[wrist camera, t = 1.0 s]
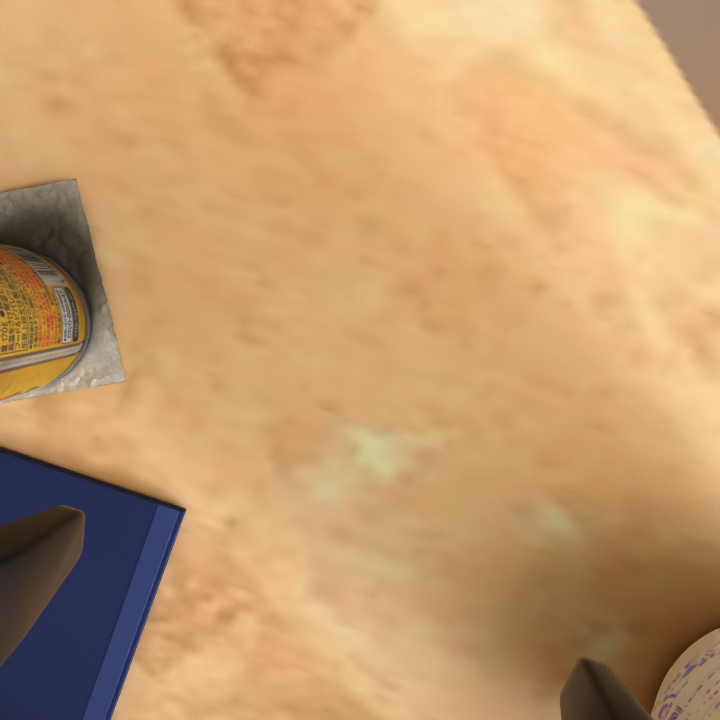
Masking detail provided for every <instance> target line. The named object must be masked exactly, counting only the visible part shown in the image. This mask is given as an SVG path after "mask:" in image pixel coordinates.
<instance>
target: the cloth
mask: <svg viewBox="0 0 720 720" xmlns="http://www.w3.org/2000/svg"><path fill="white" fill-rule="evenodd" d="M61 505H63V506H68V507H71V508H75V509H78V510H81V511H82V512H83V513H84V515H85V525H84V539H83V549H82V552H81V555H80V557H79V559H78V561H77V563H76V564H75V565H74V567H73V568H72V570H71V571H70V573H69V574H68V575H67V577H66V578H65V580H64V581H63V583H62V584H61V586H60V587H59V588H58V590H57V591H56V593H55V594H54V596H53V597H52V599H51V600H50V601H49V603H48V604H47V606H46V607H45V609H44V610H43V611H42V613H41V614H40V616H39V617H38V619H37V620H36V622H35V623H34V624H33V626H32V627H31V629H30V630H29V631H28V633H27V634H26V635H25V637H24V638H23V640H22V641H21V642H20V643H19V645H18V646H17V647H16V648H15V650H14V651H13V652H12V653H11V655H10V656H9V657H8V658H7V659H6V661H5V662H4V663H3V664H2V665H1V666H0V720H111V717H112V714H113V712H114V709H115V706H116V703H117V701H118V698H119V695H120V692H121V689H122V687H123V684H124V681H125V678H126V676H127V673H128V670H129V667H130V664H131V662H132V659H133V656H134V653H135V650H136V648H137V645H138V642H139V639H140V637H141V634H142V631H143V628H144V625H145V623H146V620H147V617H148V614H149V612H150V609H151V606H152V603H153V600H154V598H155V595H156V592H157V589H158V586H159V584H160V581H161V578H162V575H163V573H164V570H165V567H166V564H167V561H168V559H169V556H170V553H171V550H172V548H173V545H174V542H175V539H176V536H177V534H178V531H179V528H180V525H181V523H182V520H183V517H184V514H185V511H186V509H184V508H181V507H178V506H175V505H172V504H169V503H166V502H163V501H160V500H157V499H154V498H151V497H148V496H145V495H142V494H139V493H136V492H133V491H130V490H127V489H124V488H121V487H118V486H115V485H112V484H109V483H106V482H103V481H100V480H97V479H94V478H91V477H88V476H85V475H82V474H79V473H76V472H73V471H70V470H67V469H64V468H61V467H58V466H55V465H52V464H49V463H46V462H43V461H40V460H37V459H34V458H31V457H28V456H25V455H22V454H19V453H16V452H13V451H10V450H7V449H4V448H1V447H0V526H3V525H6V524H9V523H11V522H14V521H17V520H20V519H23V518H25V517H28V516H31V515H34V514H37V513H40V512H42V511H45V510H48V509H51V508H54V507H57V506H61Z"/></svg>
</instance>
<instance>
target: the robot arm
mask: <svg viewBox="0 0 720 720" xmlns="http://www.w3.org/2000/svg"><path fill="white" fill-rule="evenodd" d="M84 525H85V515H84V513H83V512H82V511H81V510H78V509H75V508H71V507H68V506H63V505H61V506H57V507H54V508H51V509H48V510H45V511H42V512H40V513H37V514H34V515H31V516H28V517H25V518H23V519H20V520H17V521H14V522H11V523H9V524H6V525H3V526H0V666H1V665H2V664H3V663H4V662H5V661H6V659H7V658H8V657H9V656H10V655H11V653H12V652H13V651H14V650H15V648H16V647H17V646H18V645H19V643H20V642H21V641H22V640H23V638H24V637H25V635H26V634H27V633H28V631H29V630H30V629H31V627H32V626H33V624H34V623H35V622H36V620H37V619H38V617H39V616H40V614H41V613H42V611H43V610H44V609H45V607H46V606H47V604H48V603H49V601H50V600H51V599H52V597H53V596H54V594H55V593H56V591H57V590H58V588H59V587H60V586H61V584H62V583H63V581H64V580H65V578H66V577H67V575H68V574H69V573H70V571H71V570H72V568H73V567H74V565H75V564H76V563H77V561H78V559H79V557H80V555H81V552H82V549H83V539H84ZM560 708H561V718H562V720H654V719H653V718H652V717H651V715H650V714H649V713H648V712H647V711H646V710H645V708H644V707H643V706H642V705H641V704H640V703H639V701H638V700H637V699H636V698H635V697H634V696H633V695H632V693H631V692H630V691H629V690H628V689H627V688H626V686H625V685H624V684H623V683H622V682H621V681H620V679H619V678H618V677H617V676H616V675H615V674H614V672H613V671H612V670H611V669H610V668H609V667H608V666H607V665H606V664H604V663H602V662H599V661H596V660H593V659H589V658H586V657H581V658H580V659H578V660H577V662H576V663H575V665H574V667H573V669H572V671H571V673H570V675H569V677H568V679H567V681H566V683H565V685H564V687H563V689H562V692H561V697H560Z"/></svg>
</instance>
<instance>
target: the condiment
mask: <svg viewBox="0 0 720 720" xmlns="http://www.w3.org/2000/svg"><path fill="white" fill-rule="evenodd" d="M124 381H126V380H125V376H124V372H123V367H122V363H121V358H120V354H119V349H118V344H117V340H116V336H115V333H114V330H113V323H112V319H111V315H110V310H109V307H108V304H107V299H106V295H105V292H104V288H103V285H102V280H101V276H100V273H99V271H98V268H97V264H96V260H95V253H94V249H93V245H92V241H91V236H90V232H89V227H88V224H87V220H86V217H85V214H84V211H83V208H82V204H81V199H80V194H79V190H78V186H77V182H76V179H71V180H66V181H60V182H56V183H52V184H46V185H40V186H35V187H29V188H23V189H17V190H12V191H7V192H1V193H0V403H3V402H9V401H14V400H20V399H26V398H31V397H37V396H43V395H48V394H54V393H60V392H65V391H71V390H77V389H84V388H89V387H95V386H101V385H107V384H112V383H118V382H124Z"/></svg>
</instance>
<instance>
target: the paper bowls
mask: <svg viewBox="0 0 720 720" xmlns="http://www.w3.org/2000/svg"><path fill="white" fill-rule="evenodd" d="M651 717H652V718H653V719H654V720H720V628H718V629H716V630H714V631H712V632H710V633H708V634H707V635H705V636H703V637H702V638H700V639H699V640H698V641H696V642H695V643H693V644H692V645H691V646H690V647H689V648H688V649H687V650H686V651H685V652H684V653H683V654H682V655H681V656H680V657H679V658H678V659H677V660H676V662H675V663H674V664H673V666H672V667H671V668H670V670H669V671H668V673H667V675H666V676H665V678H664V680H663V682H662V684H661V687H660V689H659V692H658V694H657V697H656V700H655V704H654V707H653V709H652V712H651Z"/></svg>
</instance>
